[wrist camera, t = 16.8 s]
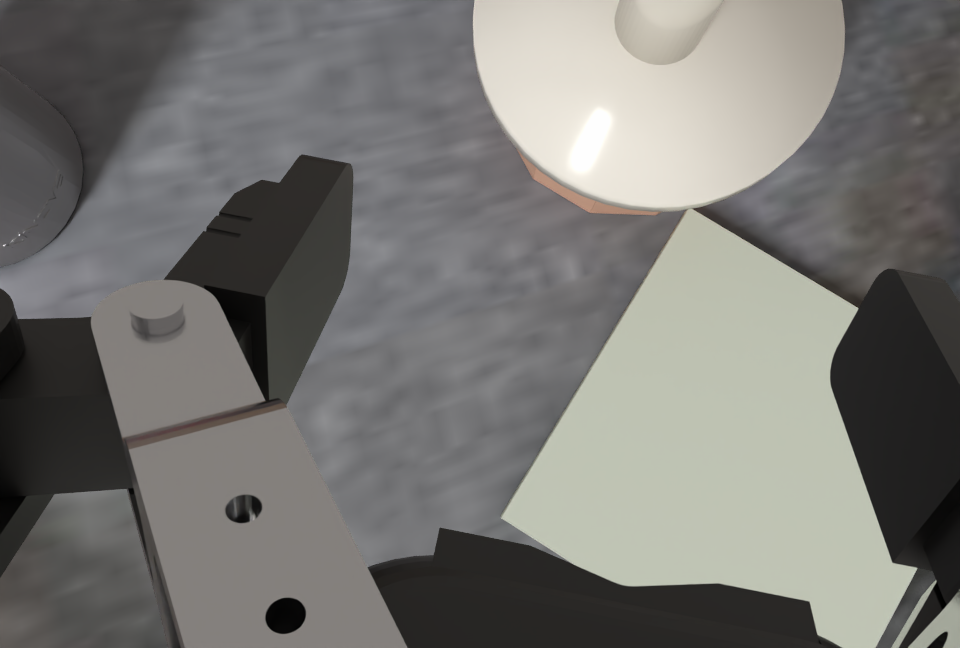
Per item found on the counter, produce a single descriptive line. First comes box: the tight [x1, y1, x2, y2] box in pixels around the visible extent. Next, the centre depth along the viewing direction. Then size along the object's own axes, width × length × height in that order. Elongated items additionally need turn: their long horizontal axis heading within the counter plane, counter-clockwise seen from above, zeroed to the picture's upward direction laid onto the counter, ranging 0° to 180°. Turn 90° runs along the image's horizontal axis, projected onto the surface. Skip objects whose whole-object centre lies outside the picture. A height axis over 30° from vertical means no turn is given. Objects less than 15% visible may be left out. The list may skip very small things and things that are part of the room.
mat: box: [501, 209, 917, 648], centre depth 35 cm, size 17×17×1 cm
